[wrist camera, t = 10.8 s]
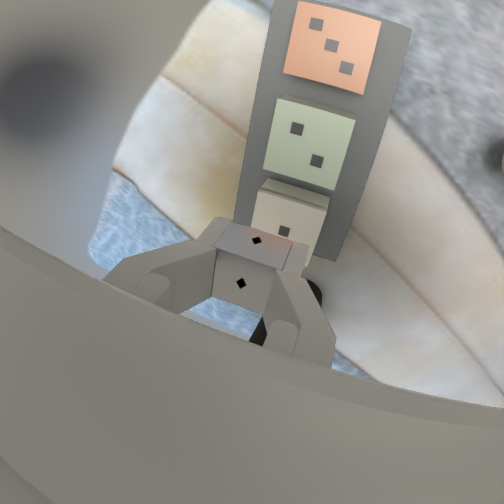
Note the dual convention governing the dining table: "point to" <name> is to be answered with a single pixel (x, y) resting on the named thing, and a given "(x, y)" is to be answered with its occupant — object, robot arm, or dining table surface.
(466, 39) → the dining table surface
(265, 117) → the board
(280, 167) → the sage tile
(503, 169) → the donut
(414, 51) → the dining table surface
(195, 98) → the dining table surface
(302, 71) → the terracotta tile
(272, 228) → the cream tile
